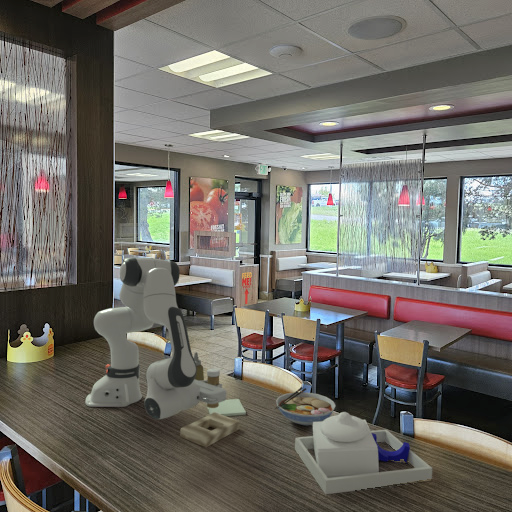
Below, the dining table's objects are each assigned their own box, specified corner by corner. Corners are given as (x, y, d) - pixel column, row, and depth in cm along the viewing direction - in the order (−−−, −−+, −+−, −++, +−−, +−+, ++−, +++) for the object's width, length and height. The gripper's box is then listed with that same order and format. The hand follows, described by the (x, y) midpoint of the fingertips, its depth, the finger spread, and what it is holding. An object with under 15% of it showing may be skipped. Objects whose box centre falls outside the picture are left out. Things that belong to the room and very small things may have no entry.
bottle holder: (205, 447, 150) (206, 438, 150) (180, 436, 157) (180, 428, 157) (239, 428, 164) (239, 420, 164) (214, 419, 171) (214, 412, 171)
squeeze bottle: (182, 394, 197) (183, 353, 196) (191, 388, 204) (192, 349, 203) (198, 397, 194) (199, 356, 193) (207, 391, 201) (208, 351, 200)
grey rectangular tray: (325, 494, 125) (326, 480, 125) (294, 449, 150) (295, 437, 150) (431, 481, 134) (432, 468, 133) (385, 440, 159) (386, 429, 159)
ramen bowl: (319, 442, 156) (319, 419, 155) (262, 425, 168) (263, 404, 167) (344, 417, 177) (345, 397, 177) (293, 404, 189) (294, 385, 189)
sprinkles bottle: (213, 402, 166) (214, 367, 166) (221, 406, 163) (222, 369, 162) (203, 406, 163) (204, 369, 162) (211, 409, 160) (212, 372, 159)
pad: (210, 417, 174) (210, 414, 174) (205, 403, 187) (205, 401, 187) (245, 414, 177) (246, 412, 177) (238, 401, 191) (238, 398, 190)
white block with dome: (319, 478, 133) (316, 427, 132) (313, 447, 151) (311, 401, 150) (379, 476, 132) (376, 424, 131) (366, 444, 150) (364, 399, 149)
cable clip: (368, 456, 144) (372, 439, 143) (367, 449, 148) (371, 432, 148) (406, 467, 142) (410, 449, 141) (404, 460, 146) (408, 443, 146)
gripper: (210, 393, 146) (237, 382, 157) (167, 378, 158) (194, 369, 169) (210, 412, 146) (236, 399, 157) (167, 396, 158) (194, 385, 169)
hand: (214, 384), depth 163 cm, fingers closed on sprinkles bottle, 4 cm apart
